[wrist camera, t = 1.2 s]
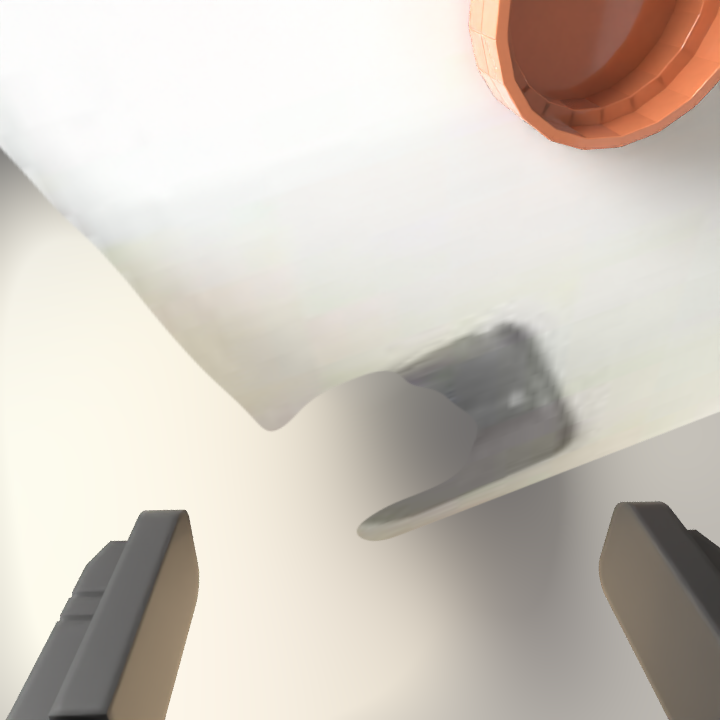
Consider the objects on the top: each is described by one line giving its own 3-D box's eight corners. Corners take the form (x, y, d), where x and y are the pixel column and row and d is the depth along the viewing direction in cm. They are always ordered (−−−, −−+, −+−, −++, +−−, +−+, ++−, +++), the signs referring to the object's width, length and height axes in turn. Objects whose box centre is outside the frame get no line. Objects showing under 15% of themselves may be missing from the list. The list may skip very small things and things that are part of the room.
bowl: (439, -94, 26) (468, -102, 22) (708, -221, 25) (797, -257, 20) (493, 155, 34) (522, 185, 30) (701, 72, 32) (764, 91, 28)
